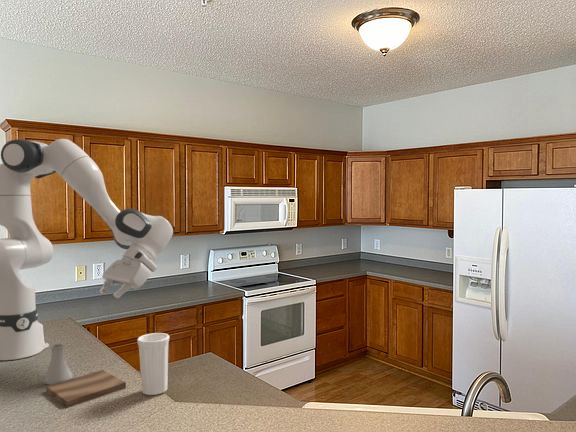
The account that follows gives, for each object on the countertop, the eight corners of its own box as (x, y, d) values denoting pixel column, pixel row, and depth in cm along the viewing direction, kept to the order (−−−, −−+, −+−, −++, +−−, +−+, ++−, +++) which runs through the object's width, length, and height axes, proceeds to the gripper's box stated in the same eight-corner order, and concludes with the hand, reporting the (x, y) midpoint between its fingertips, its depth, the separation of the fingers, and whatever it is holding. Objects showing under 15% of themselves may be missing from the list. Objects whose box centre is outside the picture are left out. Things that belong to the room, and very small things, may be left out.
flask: (60, 386, 120) (59, 350, 120) (37, 385, 122) (36, 349, 121) (78, 376, 127) (77, 342, 127) (56, 375, 129) (55, 341, 128)
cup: (138, 388, 118) (136, 335, 118) (169, 383, 121) (167, 331, 121) (139, 400, 111) (137, 343, 110) (172, 394, 114) (171, 339, 113)
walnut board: (46, 391, 117) (46, 386, 117) (102, 374, 128) (102, 369, 128) (67, 407, 107) (67, 401, 107) (125, 387, 118) (125, 382, 118)
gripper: (115, 251, 148) (86, 285, 141) (146, 255, 134) (116, 292, 127) (128, 263, 151) (101, 296, 144) (160, 268, 137) (131, 305, 130)
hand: (108, 295), depth 135 cm, fingers open, 8 cm apart
